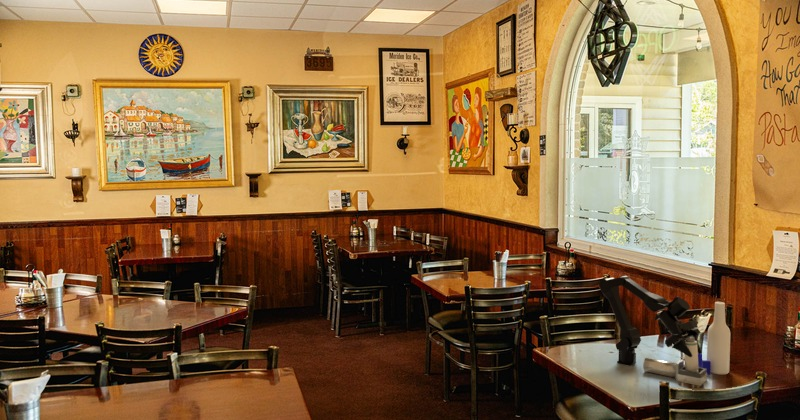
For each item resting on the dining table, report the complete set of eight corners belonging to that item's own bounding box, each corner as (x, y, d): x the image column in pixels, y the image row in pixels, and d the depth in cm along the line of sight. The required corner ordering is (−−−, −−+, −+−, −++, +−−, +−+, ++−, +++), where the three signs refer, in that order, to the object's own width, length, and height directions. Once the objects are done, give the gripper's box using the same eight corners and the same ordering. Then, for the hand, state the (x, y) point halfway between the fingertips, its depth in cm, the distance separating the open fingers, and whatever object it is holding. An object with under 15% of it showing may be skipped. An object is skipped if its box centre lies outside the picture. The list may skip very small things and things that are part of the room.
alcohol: (727, 376, 278) (730, 305, 275) (705, 372, 282) (707, 303, 280) (730, 370, 285) (732, 301, 283) (707, 367, 290) (710, 299, 287)
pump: (685, 374, 270) (683, 339, 270) (685, 371, 275) (683, 336, 275) (699, 374, 269) (697, 339, 268) (698, 371, 274) (696, 336, 273)
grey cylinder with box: (641, 373, 281) (642, 357, 280) (649, 368, 288) (649, 352, 287) (700, 385, 266) (701, 368, 265) (706, 380, 273) (707, 363, 272)
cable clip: (689, 366, 292) (690, 352, 291) (700, 366, 291) (700, 353, 291) (699, 375, 280) (699, 361, 279) (710, 375, 279) (710, 361, 279)
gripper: (672, 315, 268) (698, 348, 260) (696, 309, 279) (722, 340, 271) (654, 330, 274) (678, 363, 266) (678, 323, 286) (702, 354, 278)
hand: (696, 355), depth 270 cm, fingers open, 7 cm apart
